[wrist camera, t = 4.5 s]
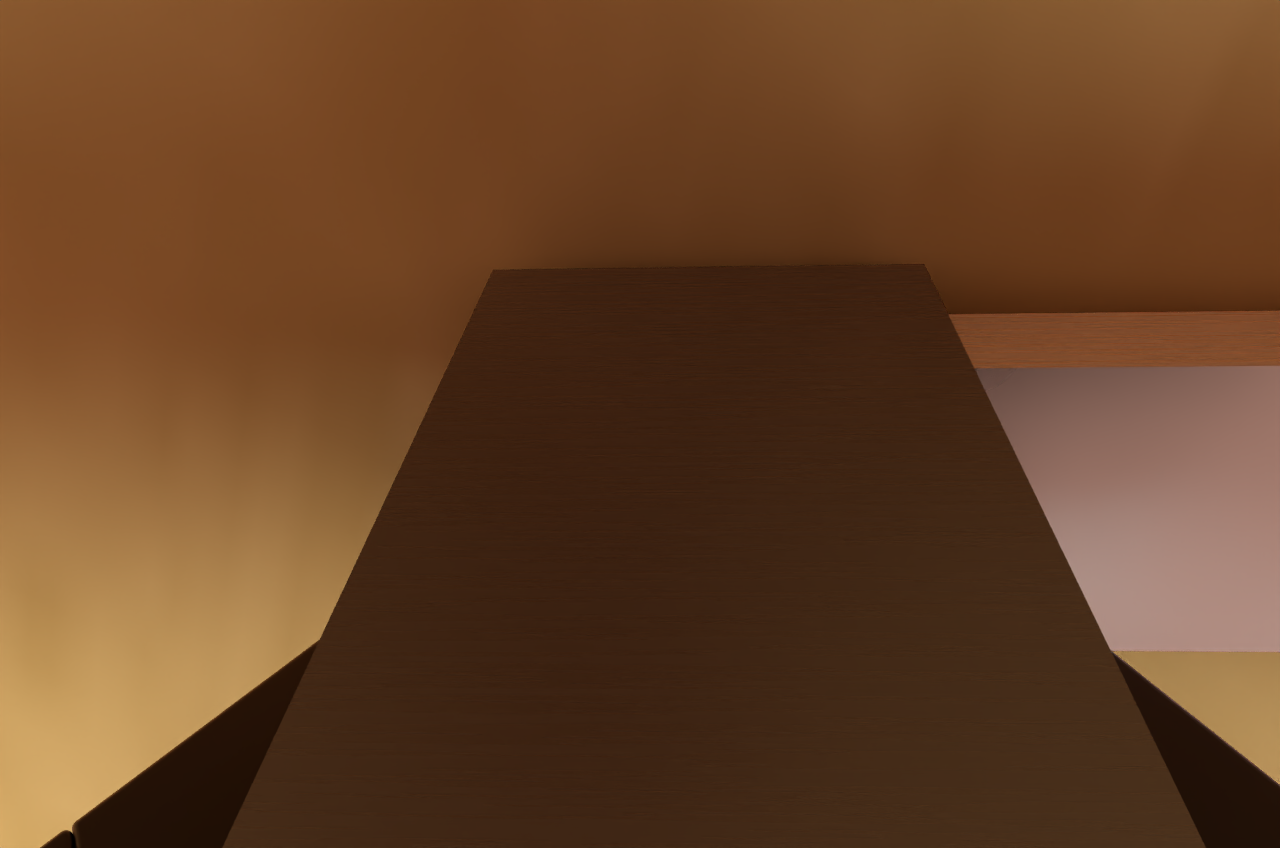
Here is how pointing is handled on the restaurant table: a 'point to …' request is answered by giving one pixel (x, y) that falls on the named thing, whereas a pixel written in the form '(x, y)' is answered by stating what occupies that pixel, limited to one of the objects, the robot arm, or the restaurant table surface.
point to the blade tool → (787, 572)
